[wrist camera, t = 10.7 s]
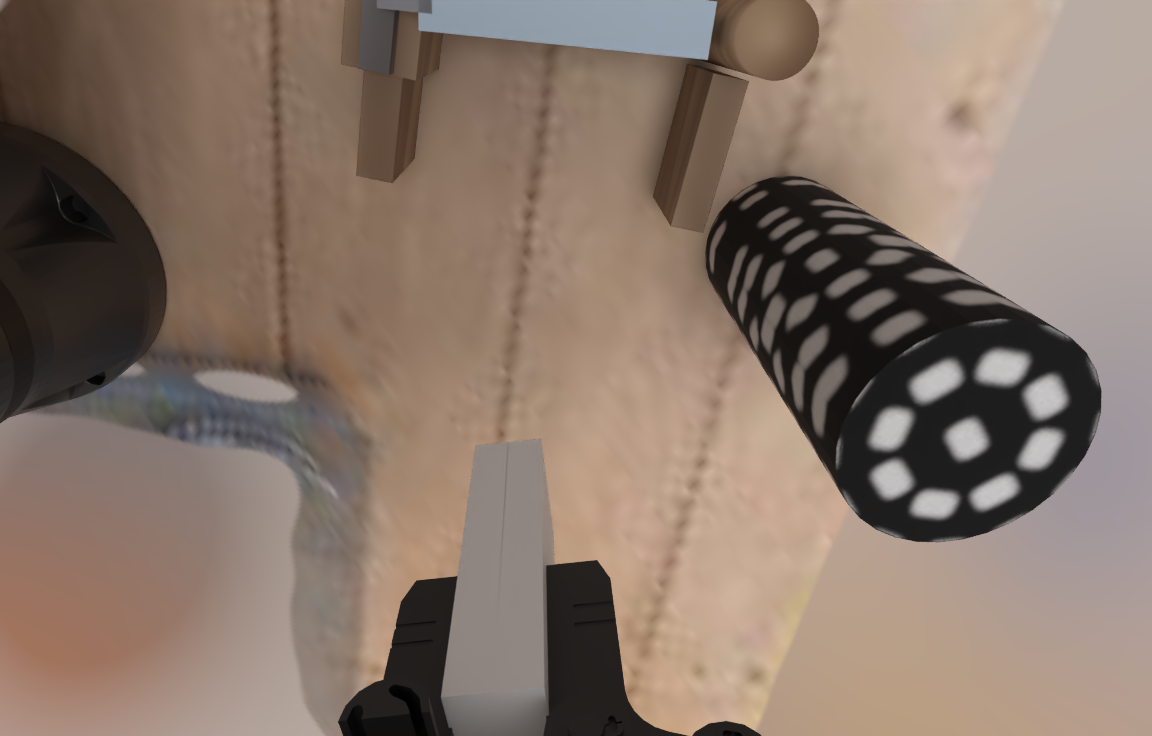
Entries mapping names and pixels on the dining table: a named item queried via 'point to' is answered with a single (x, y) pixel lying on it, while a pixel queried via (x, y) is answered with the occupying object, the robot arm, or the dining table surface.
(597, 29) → the gate
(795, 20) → the pair of brown blocks
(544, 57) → the dining table surface
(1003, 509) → the white-spotted black cylinder
